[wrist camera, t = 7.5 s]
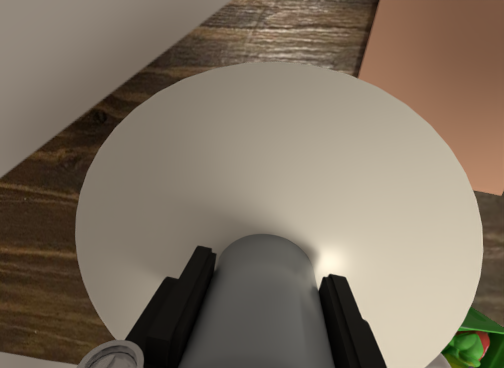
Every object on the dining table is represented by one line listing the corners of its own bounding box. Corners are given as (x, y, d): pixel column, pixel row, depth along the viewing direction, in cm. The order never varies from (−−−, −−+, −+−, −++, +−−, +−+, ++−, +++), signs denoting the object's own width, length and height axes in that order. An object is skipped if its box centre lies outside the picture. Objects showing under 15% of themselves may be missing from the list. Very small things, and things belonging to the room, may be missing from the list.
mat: (593, 4, 21) (600, 1, 21) (497, 193, 27) (501, 195, 26) (387, -29, 22) (389, -31, 22) (333, 162, 27) (334, 163, 27)
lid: (551, 112, 8) (1073, 129, 3) (386, 427, 13) (463, 655, 8) (84, 27, 9) (-222, -96, 3) (91, 359, 14) (-32, 527, 8)
